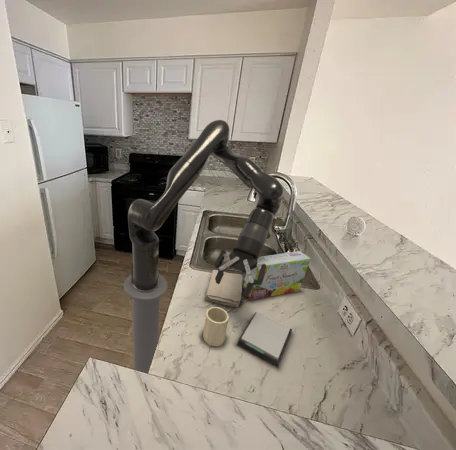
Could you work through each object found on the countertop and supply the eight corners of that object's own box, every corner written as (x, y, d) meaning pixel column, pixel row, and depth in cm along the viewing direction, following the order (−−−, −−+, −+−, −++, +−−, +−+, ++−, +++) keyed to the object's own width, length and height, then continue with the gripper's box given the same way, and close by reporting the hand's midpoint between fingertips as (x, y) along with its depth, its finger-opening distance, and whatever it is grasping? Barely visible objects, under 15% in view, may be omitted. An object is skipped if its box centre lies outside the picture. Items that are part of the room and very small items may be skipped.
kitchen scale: (237, 345, 73) (238, 338, 72) (254, 316, 83) (256, 309, 82) (277, 367, 67) (279, 360, 66) (290, 333, 77) (293, 327, 76)
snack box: (250, 302, 89) (258, 266, 82) (241, 291, 94) (248, 257, 87) (300, 291, 94) (311, 257, 88) (289, 282, 99) (299, 249, 92)
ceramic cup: (199, 338, 75) (202, 315, 71) (209, 325, 79) (212, 303, 75) (218, 350, 71) (222, 327, 67) (227, 336, 76) (232, 313, 72)
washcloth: (204, 301, 89) (205, 295, 87) (211, 272, 104) (212, 266, 103) (240, 310, 85) (241, 303, 84) (241, 278, 101) (243, 272, 99)
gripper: (276, 252, 77) (256, 302, 74) (231, 237, 85) (211, 282, 82) (274, 244, 71) (252, 297, 68) (227, 229, 79) (205, 276, 76)
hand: (230, 289), depth 75 cm, fingers open, 8 cm apart
